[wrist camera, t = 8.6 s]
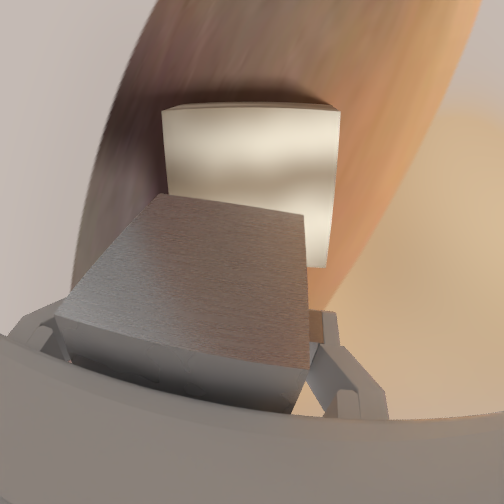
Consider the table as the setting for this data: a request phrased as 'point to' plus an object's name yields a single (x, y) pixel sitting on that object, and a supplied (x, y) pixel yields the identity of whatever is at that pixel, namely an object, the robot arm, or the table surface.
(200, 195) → the cream square dish
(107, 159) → the table surface
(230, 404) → the grey block
